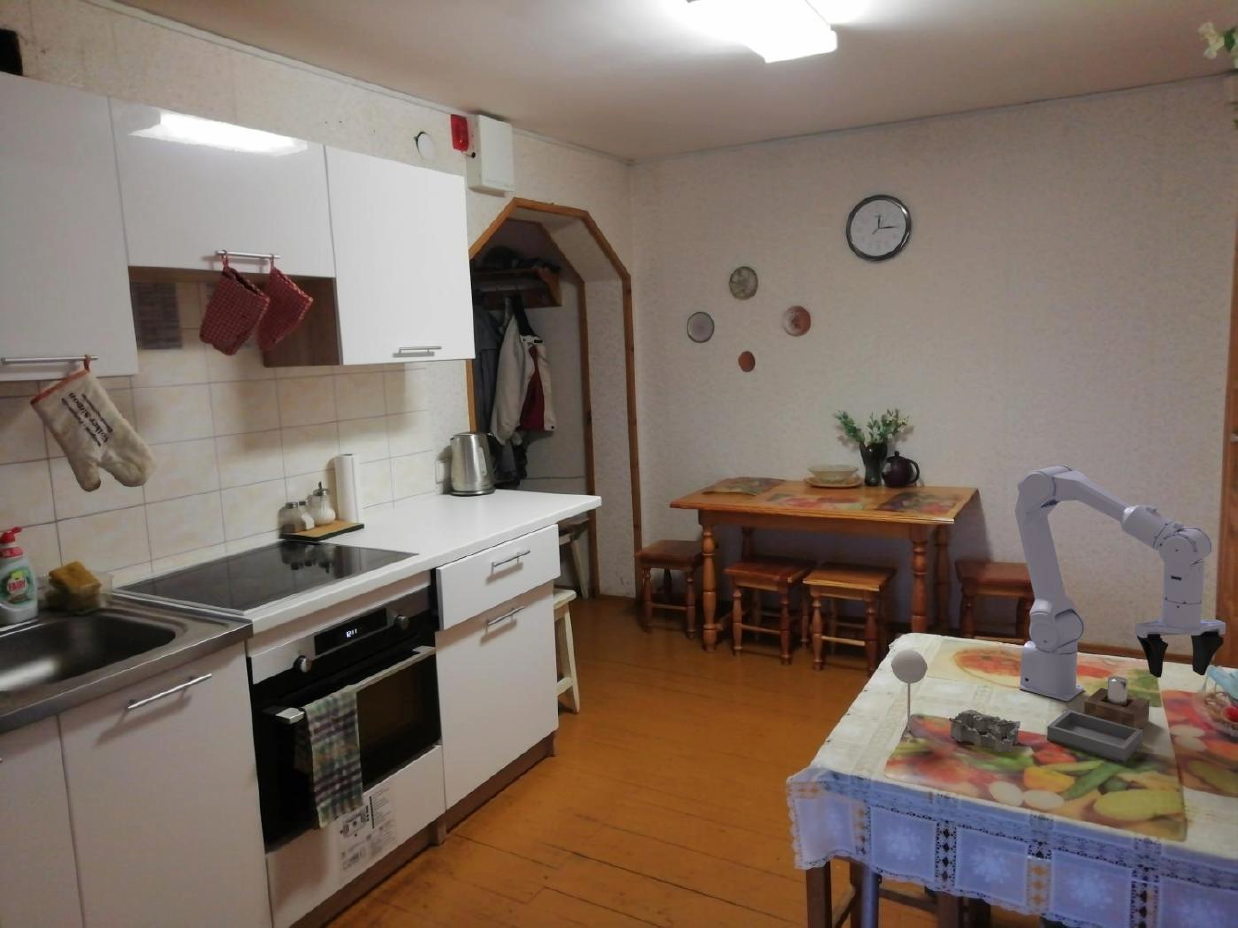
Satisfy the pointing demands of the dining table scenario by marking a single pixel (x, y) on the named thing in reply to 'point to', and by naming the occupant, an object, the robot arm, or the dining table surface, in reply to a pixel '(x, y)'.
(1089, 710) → the holder
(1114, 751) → the tray
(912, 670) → the lollipop
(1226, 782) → the dining table surface
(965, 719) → the egg carton
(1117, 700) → the pin
